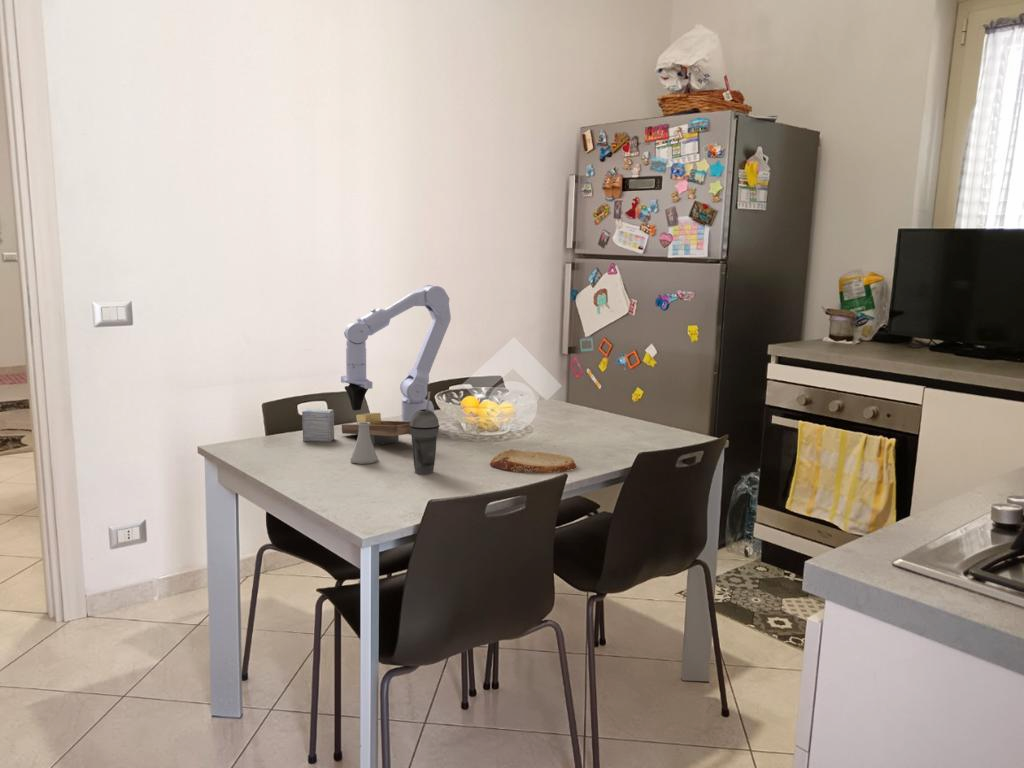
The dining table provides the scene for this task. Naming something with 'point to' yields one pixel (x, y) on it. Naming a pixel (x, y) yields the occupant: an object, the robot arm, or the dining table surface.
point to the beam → (381, 428)
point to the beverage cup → (424, 439)
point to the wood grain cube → (369, 418)
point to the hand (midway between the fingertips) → (356, 409)
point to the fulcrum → (383, 439)
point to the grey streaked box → (318, 425)
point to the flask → (363, 446)
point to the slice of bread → (532, 462)
